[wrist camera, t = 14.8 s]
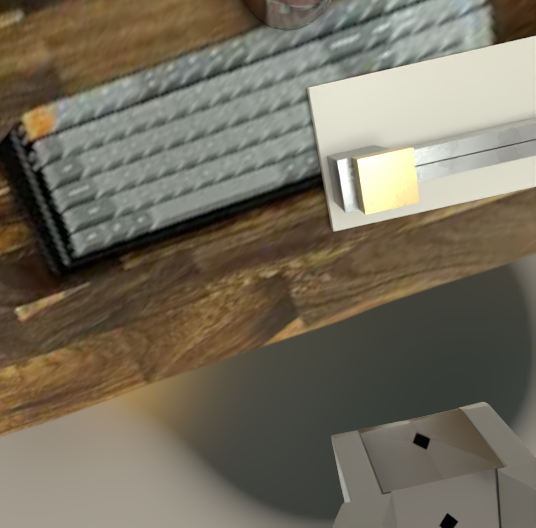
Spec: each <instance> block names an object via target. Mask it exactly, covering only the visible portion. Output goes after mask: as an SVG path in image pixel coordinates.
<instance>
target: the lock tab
mask: <svg viewBox="0 0 536 528" xmlns="http://www.w3.org/2000/svg"><path fill="white" fill-rule="evenodd" d="M352 165H353V171H354V178H355V184H356V190H357V197H358V203H359V210H360V211H361V212H363V213H364V214H365V215H367V214H371V213H376V212H380V211H385V210H389V209H394V208H398V207H403V206H407V205H412V204H416V203H420V202H419V193H418V184H417V175H416V167H415V158H414V149H413V147H410V146H401V147H396V148H392V149H387V150H383V151H378V152H374V153H370V154H365V155H361V156H356V157H352Z"/></svg>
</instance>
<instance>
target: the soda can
mask: <svg viewBox="0 0 536 528" xmlns="http://www.w3.org/2000/svg"><path fill="white" fill-rule="evenodd" d="M245 1H246V3H247V5H248V7H249V8H250V10H251V11H252V12H253V14H254V15H255V16H256V17H258V18H259V19H260V20H261V21H262V22H264V23H265V24H267V25H269V26H271V27H274V28H277V29H283V30H292V29H298V28H301V27H304V26H306V25H308V24H310V23H312V22H313V21H314V20H316V19H317V18H318V17H319V16H320V15H321V14H322V13H323V12H324V10H325V9H326V8H327V7H328V5H329V4H330V3H331V2H332V0H245Z"/></svg>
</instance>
